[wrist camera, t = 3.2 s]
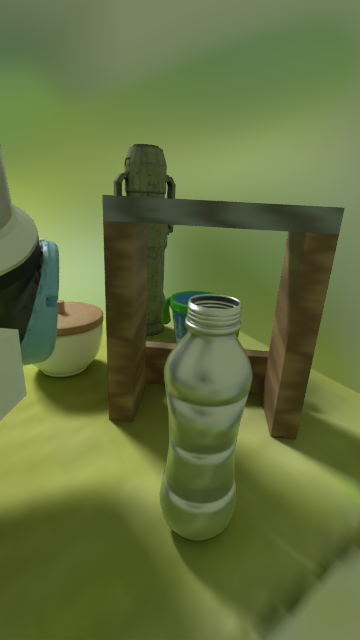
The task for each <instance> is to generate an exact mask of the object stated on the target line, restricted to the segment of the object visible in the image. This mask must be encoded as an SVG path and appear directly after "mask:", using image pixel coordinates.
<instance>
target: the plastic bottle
mask: <svg viewBox="0 0 360 640" xmlns="http://www.w3.org/2000/svg"><path fill="white" fill-rule="evenodd" d="M241 305H242V303H241V302H240V301H239V300H238V299H235V298H232V297H229V296H224V295H215V294H204V295H196V296H193V297H191V298H190V299H189V302H188V309H187V317H186V318H185V327H186V328H187V329H188V333H187V334H186V335H185V336H184V337H183V338H182V339H181V340H180V341H179V342H178V343H177V345H176V346H175V347H174V349H173V350H172V351H171V353H170V354H169V356H168V358H167V361H166V364H165V367H164V382H165V389H166V397H167V404H168V412H169V449H168V456H167V464H166V469H165V472H164V475H163V478H162V483H161V489H160V504H161V509H162V514H163V517H164V519H165V521H166V523H167V524H168V526H169V527H170V528H171V529H172V530H173V531H175V532H176V533H177V534H179V535H180V536H182V537H184V538H186V539H190V540H206V539H209V538H212V537H214V536H216V535H218V534H220V533H221V532H222V531H223V530H224V529H225V528H226V527H227V526H228V524H229V523H230V520H231V517H232V515H233V512H234V510H235V507H236V500H237V498H236V482H235V446H236V441H237V436H238V431H239V425H240V420H241V417H242V414H243V411H244V407H245V404H246V401H247V397H248V394H249V391H250V387H251V382H252V377H253V374H252V369H251V364H250V360H249V358H248V356H247V354H246V352H245V350H244V348H243V347H242V345H241V343H240V342H239V340H238V339H237V337H236V333H237V332H239V331H240V327H241V321H240V316H241V309H242V306H241Z"/></svg>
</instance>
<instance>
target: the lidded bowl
mask: <svg viewBox="0 0 360 640" xmlns="http://www.w3.org/2000/svg"><path fill="white" fill-rule="evenodd" d="M57 302H58V321H57V335H56V343H55V349H54V351H53V353H52V355H51V356H50V357H49V358H48V359H47V360H45V361H44V362H41V363H36V364H33V365H34V366H35V367H37V368H38V369H40V370H42V372H43V373H44V374H46V375H48V376H52V377H68V376H73V375H76V374H78V373H81V372H82V371H84V370H85V369H86V368H87V366H88V364H90V363H91V362H92V361H93V360H94V358H95V357H96V355H97V354H98V351H99V349H100V346H101V342H102V334H103V324H102V322H103V312H102V310H101V309H100V308H98V307H97V306H94V305H91V304H87V303H81V302H64V301H62V300H60V301H57Z"/></svg>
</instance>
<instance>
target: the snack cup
mask: <svg viewBox="0 0 360 640" xmlns="http://www.w3.org/2000/svg"><path fill="white" fill-rule="evenodd" d="M204 294H215V295H220V294H216V293H211V292H204V291H185V292H180V293H176V294H173V295H172V296H171V297H169V298H167V299H166V301H165V303H164V305H163V309H162V314H161V321H162V323H163V324H168V323H169V322H170V321H171V319H170V312H169V306H171V308H172V311H173V321H174V331H175V338H176V344H177V343H178V342H179V341H180V340H181V339H182V338H183V337H184V336H185V335H186V334H187V333H188V329H187V328H186V327H185V318H186V317H187V309H188V302H189V299H190V298H191V297H193V296H196V295H204ZM238 335H239V332H237V333H236V337H237V338H238Z"/></svg>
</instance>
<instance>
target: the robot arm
mask: <svg viewBox="0 0 360 640" xmlns="http://www.w3.org/2000/svg"><path fill="white" fill-rule="evenodd" d="M58 290H59V251H58V247H57V245H56V244H55V243H54V242H52V241H47V240H45V239H39V237H38V231H37V228H36V225H35V223H34V221H33V219H32V218H31V217H30V216H29V215H28V214H27V213H26V212H25V211H23V210H22V209H20V208H19V207H17V206H15V205H14V204H12V203H11V199H10V193H9V188H8V183H7V177H6V172H5V167H4V162H3V157H2V151H1V146H0V420H1V419H3V418H4V417H5V416H6V415H7V414H8V413H9V412H10V411H11V410H12V409H13V408H14V407H15V406H16V405H17V404H18V403H19V402H20V401H21V400H22V399H23V398H24V397H25V396H26V388H25V380H24V372H23V365H29V364H36V363H41V362H44V361H45V360H47V359H48V358H49V357H50V356H51V355H52V353H53V351H54V349H55V343H56V335H57V321H58V302H57V301H58Z"/></svg>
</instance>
